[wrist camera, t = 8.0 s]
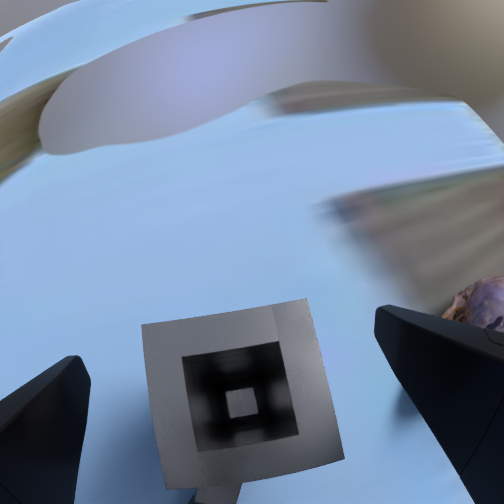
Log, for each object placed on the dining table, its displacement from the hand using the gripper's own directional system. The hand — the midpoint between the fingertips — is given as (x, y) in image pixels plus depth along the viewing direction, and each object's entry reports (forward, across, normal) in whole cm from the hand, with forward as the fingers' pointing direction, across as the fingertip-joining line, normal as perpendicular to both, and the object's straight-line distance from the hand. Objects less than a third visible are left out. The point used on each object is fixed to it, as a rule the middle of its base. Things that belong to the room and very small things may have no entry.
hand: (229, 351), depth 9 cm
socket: (+6, 0, +8) cm, 10 cm away
